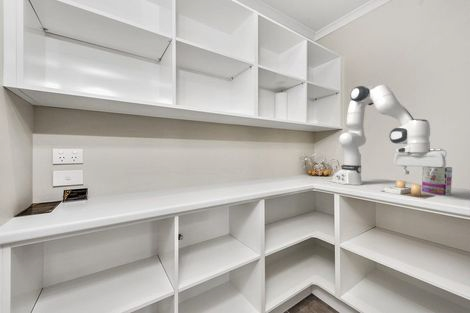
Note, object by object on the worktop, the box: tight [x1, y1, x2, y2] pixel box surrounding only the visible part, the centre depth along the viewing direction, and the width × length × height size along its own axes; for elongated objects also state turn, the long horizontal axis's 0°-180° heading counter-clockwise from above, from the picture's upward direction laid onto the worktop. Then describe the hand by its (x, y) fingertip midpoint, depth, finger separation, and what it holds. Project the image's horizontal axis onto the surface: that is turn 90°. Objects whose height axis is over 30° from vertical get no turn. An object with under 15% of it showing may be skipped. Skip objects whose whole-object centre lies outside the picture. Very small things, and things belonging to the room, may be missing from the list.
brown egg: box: [410, 183, 422, 197], centre depth 103 cm, size 4×4×6 cm
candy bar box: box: [421, 166, 453, 196], centre depth 111 cm, size 11×5×16 cm, turn 13°
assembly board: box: [381, 189, 436, 200], centre depth 109 cm, size 20×15×1 cm
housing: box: [384, 180, 411, 195], centre depth 112 cm, size 8×14×6 cm, turn 118°
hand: (417, 175), depth 102 cm, fingers open, 8 cm apart
